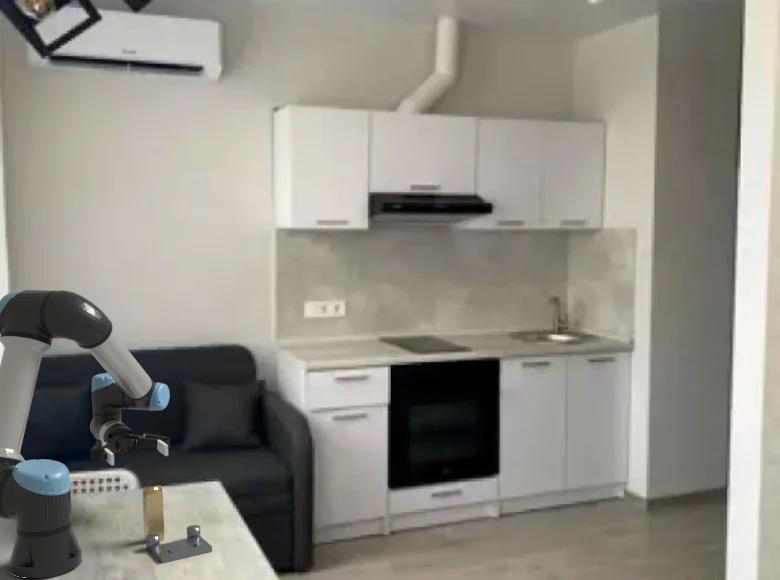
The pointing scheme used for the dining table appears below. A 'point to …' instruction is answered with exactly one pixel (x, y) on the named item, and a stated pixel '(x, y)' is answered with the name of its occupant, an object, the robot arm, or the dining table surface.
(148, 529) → the brass rectangular post
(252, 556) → the dining table surface
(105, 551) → the dining table surface
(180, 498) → the dining table surface
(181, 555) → the fixed leaf
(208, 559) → the dining table surface
